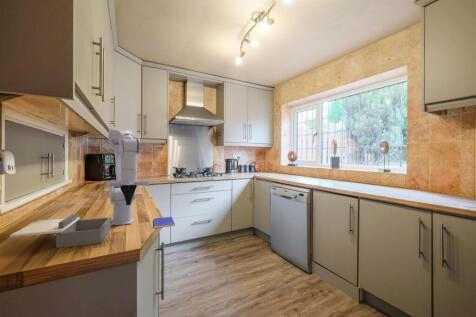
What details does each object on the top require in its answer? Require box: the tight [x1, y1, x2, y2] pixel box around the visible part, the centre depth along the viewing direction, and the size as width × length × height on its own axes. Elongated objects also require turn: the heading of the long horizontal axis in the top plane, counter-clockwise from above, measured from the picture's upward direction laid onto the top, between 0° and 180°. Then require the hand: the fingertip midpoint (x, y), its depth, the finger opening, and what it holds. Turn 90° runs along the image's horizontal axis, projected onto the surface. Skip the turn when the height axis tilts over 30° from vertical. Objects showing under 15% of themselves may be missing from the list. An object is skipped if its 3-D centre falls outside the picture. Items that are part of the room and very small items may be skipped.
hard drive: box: [153, 216, 176, 229], centre depth 94 cm, size 2×8×12 cm
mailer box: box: [55, 217, 112, 249], centre depth 76 cm, size 16×12×4 cm
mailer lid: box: [9, 213, 81, 238], centre depth 73 cm, size 16×12×3 cm
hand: (128, 204), depth 82 cm, fingers closed
